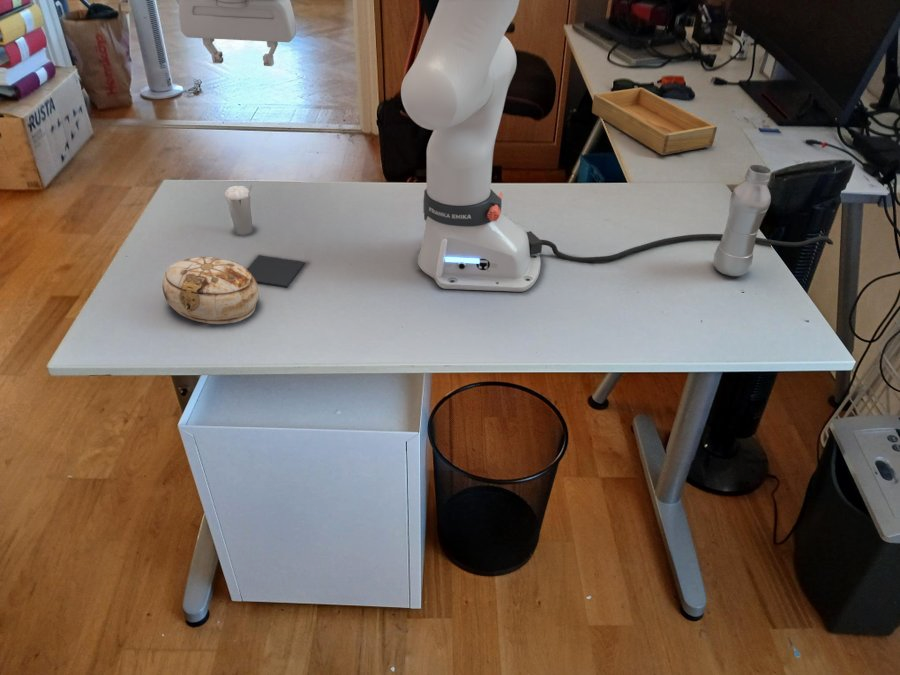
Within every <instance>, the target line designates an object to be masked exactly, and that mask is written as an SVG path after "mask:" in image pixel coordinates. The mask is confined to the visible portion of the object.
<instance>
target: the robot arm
mask: <svg viewBox="0 0 900 675" xmlns="http://www.w3.org/2000/svg"><path fill="white" fill-rule="evenodd" d="M520 1H521V0H438V3H437V6H436V8H435V11H434V13H433V16H432V18H431V20H430V23H429V26H428V28H427V31H426V33H425V36H424V38H423V41H422V43H421V45H420V49H419V51H418V52H417V56H416V57H415V59H414V62H413V63H412V64H411V66H410V68H409V70H408V71H407V73H406V74H405V76H404V78H403V80H402V82H401V87H400V97H401V98H400V99H401V102H402V105H403V108H404V111H405V112H406V114H407V115H408V117H409V118H410V119H411V120H412V121H413V122H414V123H415V124H416V125H418V126H419V127H421V128H423V129H426V130H430V131H432V133H431V135H430V138H429V140H428V143H427V146H426V188H425V189H424V190H423V199H422V210H423V211H422V212H423V220H424V230H423V238H422V243H421V247H420V250H419V253H418V256H417V264H418V266H419V269H420V270H421V271H422V272H423V273H425V274H426V275H428V276H429V277H430V278H432V279H433V280H434V281H435V283H436V285H437V286H438V287H439V288H441V289H444V290H466V291H467V290H468V291H492V292H493V291H494V292H495V291H496V292H517V293H518V292H519V293H520V292H522V293H523V292H525V291H527V290H529V289H531V288H532V287H533V286H534V285H535V283H536V282H537V281H538V278H539V276H540V272H541V268H542V266H541V262H542V261H541V256H540V254H541V253H542V251H543V246H547V247H549V248H551V251H552V252H553V254H554V255H555V256H556V257H558V258H559V259H562V260H566V261H571V262H575V263H598V262H609V261H614V260H617V259H620V258H623V257H626V256H628V255H631V254H633V253H636V252H641V251H645V250H647V249H650V248H654V247H657V246H661V245H666V244H669V243H675V242H682V241H690V240H691V241H692V240H707V239H708V240H710V239H711V240H721V239H722V236H723V234H724V233H697V234H695V233H694V234H686V235H678V236H673V237H667V238H663V239H658V240H654V241H651V242H648V243H644V244H640V245H638V246H634V247H631V248H628V249H625V250H623V251H620V252H618V253H615V254H611V255H602V256H586V257H579V256H578V257H577V256H572V255H568V254H565V253H563V252H561V251H559V249H558V246H557V245H556V244H555V243H554V242H553V241H550V240H547V239H542V238H541V239H540V238H539V237H538V236H536V234H534V232H532V231H526V229H525V228H524V227H523V226H522V225H520V224H519V223H517V222H516V221H515V220H513V218H511V217H510V216H509V215H507V214H506V213H504V212H503V211H502V207H503V206H502V199H503V192H502V191H500V192H499V194H498V195H497V194H496V192H495V191H493V190H492V176H493V175H492V173H493V160H494V151H495V144H496V139H497V136H498V132H499V127H500V123H501V119H502V116H503V111H504V107H505V103H506V97H507V94H508V91H509V87H510V85H511V83H512V80H513V78H514V75H515V73H516V70H517V65H518V64H517V62H518V61H517V54H516V50H515V48H514V46H513V44H512V42H511V41H510V40H509V39H508V37H506V36H505V34H506V32H507V30H508V28H509V26H510V24H511V23H512V21H513V20H514V18H515V17H516V14H517V11H518V8H519V4H520ZM175 2H176V3H177V5H178V20H179V21H178V22H179V27H180V32H181V33H182V35H183V36H184V37H186V38H188V39H190V38H191V39H202V44H203V46H204V47H205V48H206V50H207V51H208V53H209V54H210V55H211V59H212V63H213V64H216V65H217V64H218V65H220V64H221V65H222V63H224V56H223V51H220V50H218V49H217V47H216V46H215V44H214V43H213V42H215V40H229V41H233V40H234V41H249V42H250V41H251V42H266V45H267V46H266V47H268V48H269V51H268V53H264V54H263V56H262V61H263V66H264V67H273V66H274V64H275V60H274V54H275V52H276V50H277V48H278V45H279V43H290V42H292V40H294V38H295V37H296V35H297V25H296V19H295V18H296V17H295V14H294V9H293V4H292V2H291V0H175ZM818 242H825V243H826V244H827V245H830V246H831V245H832V246H833V245H834V241H833V240H832V239H831V238H830V237H828V236H826V235H818V236H815V237H812V238H809V239H806V240H802V241H797V242H793V241H791V242H790V241H781V240H773V239H768V238H762V237H757V236H756V240H755V243H758V244H765V245H769V246H775V247H782V248H801V247H805V246H809V245H811V244H814V243H818Z"/></svg>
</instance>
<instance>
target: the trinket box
mask: <svg viewBox="0 0 900 675" xmlns="http://www.w3.org/2000/svg"><path fill="white" fill-rule="evenodd" d="M161 286H162V292H163V296H164V299H165V300H166V302H167V303H168V304H169V306H170V307H171V308H172V310H174V311H175V312H176V313H177V314H179V315H180V316H182V317H185V318H187V319H189V320H191V321H196V322H200V323H204V324H210V325H226V324H235V323H238V322H241V321H242V320H246V319H247V318H249V317H250V316H252V315H253V313H254V312H255V310H256V305H257V302H258V301H259V294H260V293H259V292H260V291H259V285H258V283H257V282H256V280H255V278H254V277H253V276H252V274H251V273H250V272H249V271H248V270H247V268H246V267H245V266H243V265H241V264H239V263H237V262H234V261H232V260H228V259H225V258H219V257H215V256H196V257H190V258H185V259H182V260H179V261H176V262H174V263H172V264H171V265H170V266H168V268H167V269H166V270H165V273H164V275H163V277H162V283H161Z"/></svg>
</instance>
